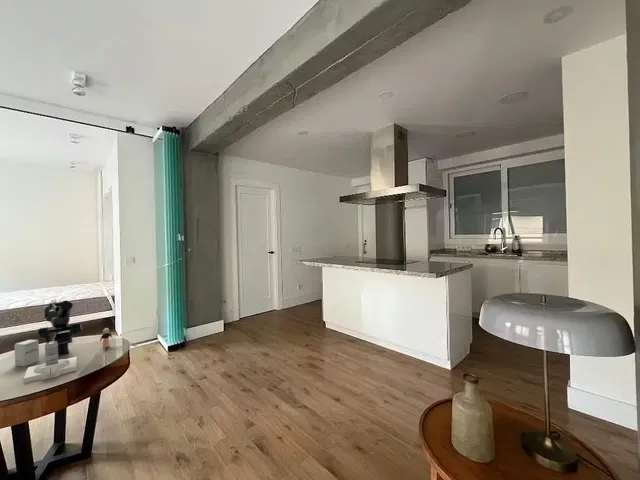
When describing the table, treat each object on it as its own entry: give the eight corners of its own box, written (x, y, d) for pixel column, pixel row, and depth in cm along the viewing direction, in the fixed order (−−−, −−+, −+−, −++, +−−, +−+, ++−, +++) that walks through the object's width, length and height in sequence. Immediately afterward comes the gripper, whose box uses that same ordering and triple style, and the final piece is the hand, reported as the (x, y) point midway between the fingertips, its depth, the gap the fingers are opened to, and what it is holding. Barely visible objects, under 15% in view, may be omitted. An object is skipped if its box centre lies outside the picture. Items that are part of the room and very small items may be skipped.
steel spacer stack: (50, 363, 158) (49, 341, 157) (60, 362, 158) (59, 340, 158) (43, 367, 153) (42, 345, 152) (53, 366, 153) (52, 344, 153)
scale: (28, 371, 155) (27, 361, 155) (76, 360, 168) (76, 350, 168) (23, 384, 141) (22, 372, 141) (76, 371, 154) (75, 360, 154)
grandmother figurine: (103, 349, 184) (103, 330, 184) (98, 349, 185) (98, 329, 185) (114, 345, 192) (113, 326, 192) (109, 344, 192) (108, 326, 192)
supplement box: (24, 366, 162) (23, 344, 162) (14, 365, 163) (13, 343, 163) (39, 361, 169) (39, 339, 169) (30, 360, 170) (29, 339, 170)
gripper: (38, 314, 163) (32, 339, 154) (80, 309, 173) (76, 332, 163) (43, 324, 170) (37, 349, 161) (83, 319, 179) (80, 342, 170)
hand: (58, 343), depth 164 cm, fingers open, 9 cm apart
